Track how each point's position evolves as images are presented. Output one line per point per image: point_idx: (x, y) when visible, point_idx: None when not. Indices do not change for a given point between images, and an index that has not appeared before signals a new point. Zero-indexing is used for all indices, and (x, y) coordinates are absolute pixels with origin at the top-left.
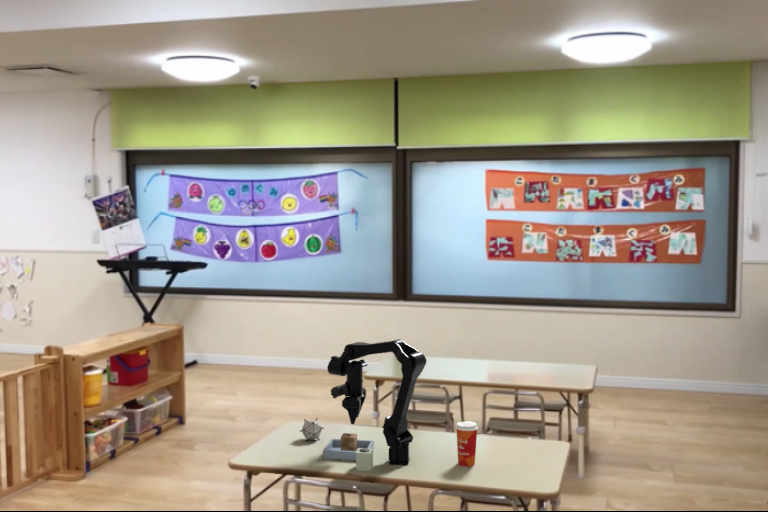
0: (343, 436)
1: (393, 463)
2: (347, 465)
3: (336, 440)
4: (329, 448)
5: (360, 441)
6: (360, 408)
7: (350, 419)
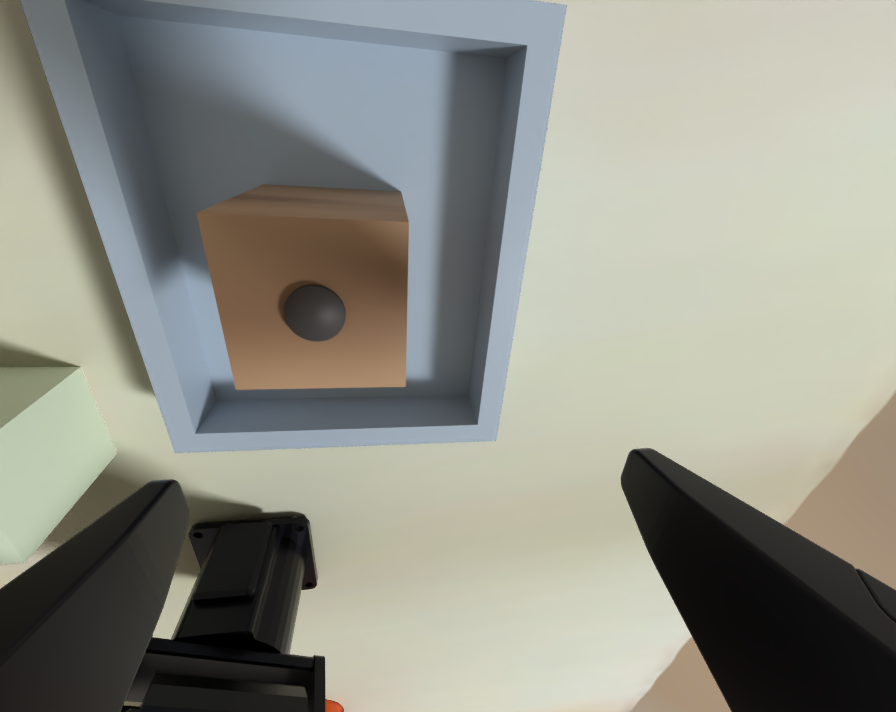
0: (248, 249)
1: (195, 543)
2: (21, 286)
3: (517, 94)
4: (298, 28)
5: (486, 347)
6: (716, 672)
7: (41, 574)
